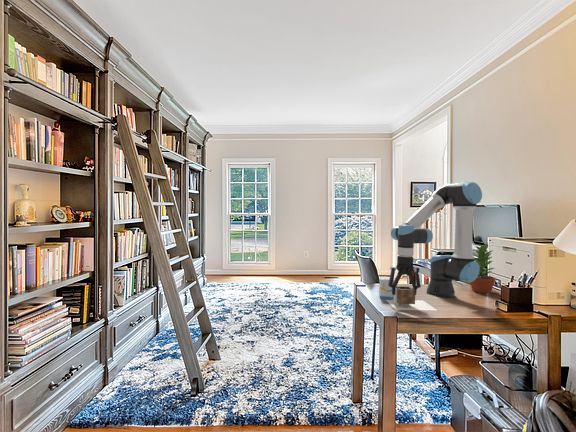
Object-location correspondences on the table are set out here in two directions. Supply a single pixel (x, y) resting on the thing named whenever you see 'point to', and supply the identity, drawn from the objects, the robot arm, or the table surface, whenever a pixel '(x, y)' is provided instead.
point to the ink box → (385, 288)
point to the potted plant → (483, 272)
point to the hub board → (410, 306)
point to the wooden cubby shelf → (405, 295)
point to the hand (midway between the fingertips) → (403, 301)
